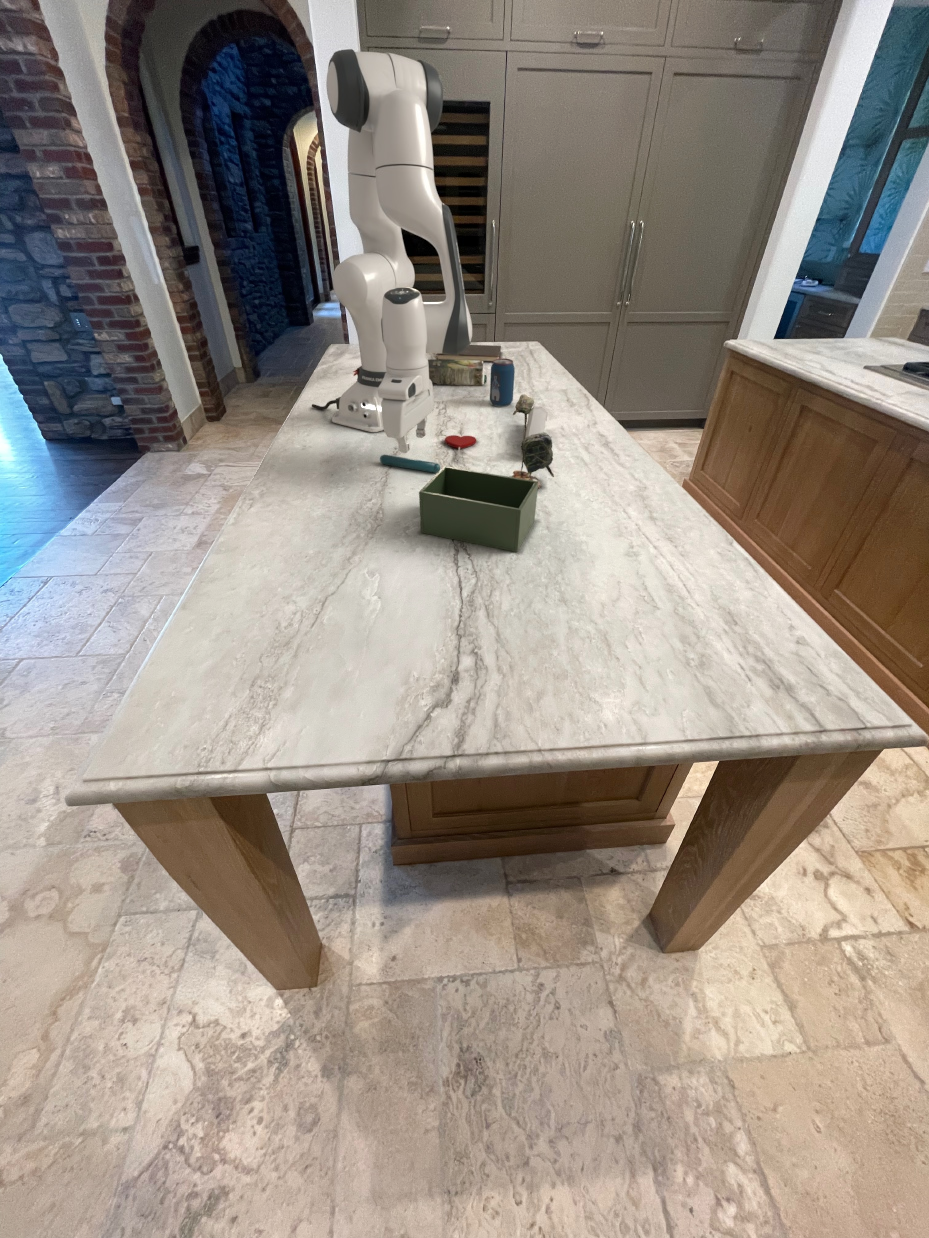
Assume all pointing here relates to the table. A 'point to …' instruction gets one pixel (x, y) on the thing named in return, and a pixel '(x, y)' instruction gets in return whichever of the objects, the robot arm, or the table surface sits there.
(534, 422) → the white square bar
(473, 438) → the lollipop
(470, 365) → the juice carton
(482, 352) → the hardcover book
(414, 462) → the teal rod
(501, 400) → the soda can
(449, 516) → the bin
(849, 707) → the table surface
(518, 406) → the plant with pod
